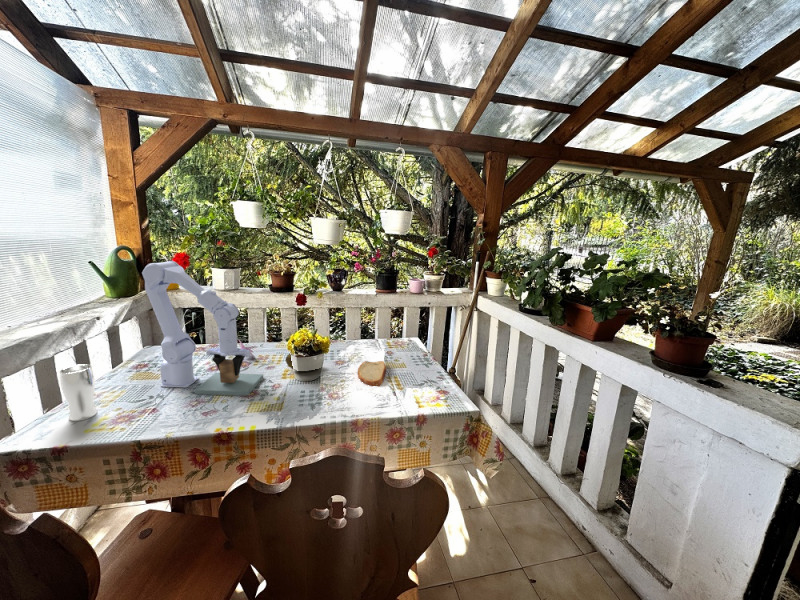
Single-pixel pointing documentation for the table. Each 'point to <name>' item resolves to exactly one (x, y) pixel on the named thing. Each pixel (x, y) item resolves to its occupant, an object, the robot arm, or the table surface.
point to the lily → (245, 347)
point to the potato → (289, 361)
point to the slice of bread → (372, 373)
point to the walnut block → (227, 371)
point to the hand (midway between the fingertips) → (230, 374)
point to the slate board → (229, 385)
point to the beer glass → (79, 391)
